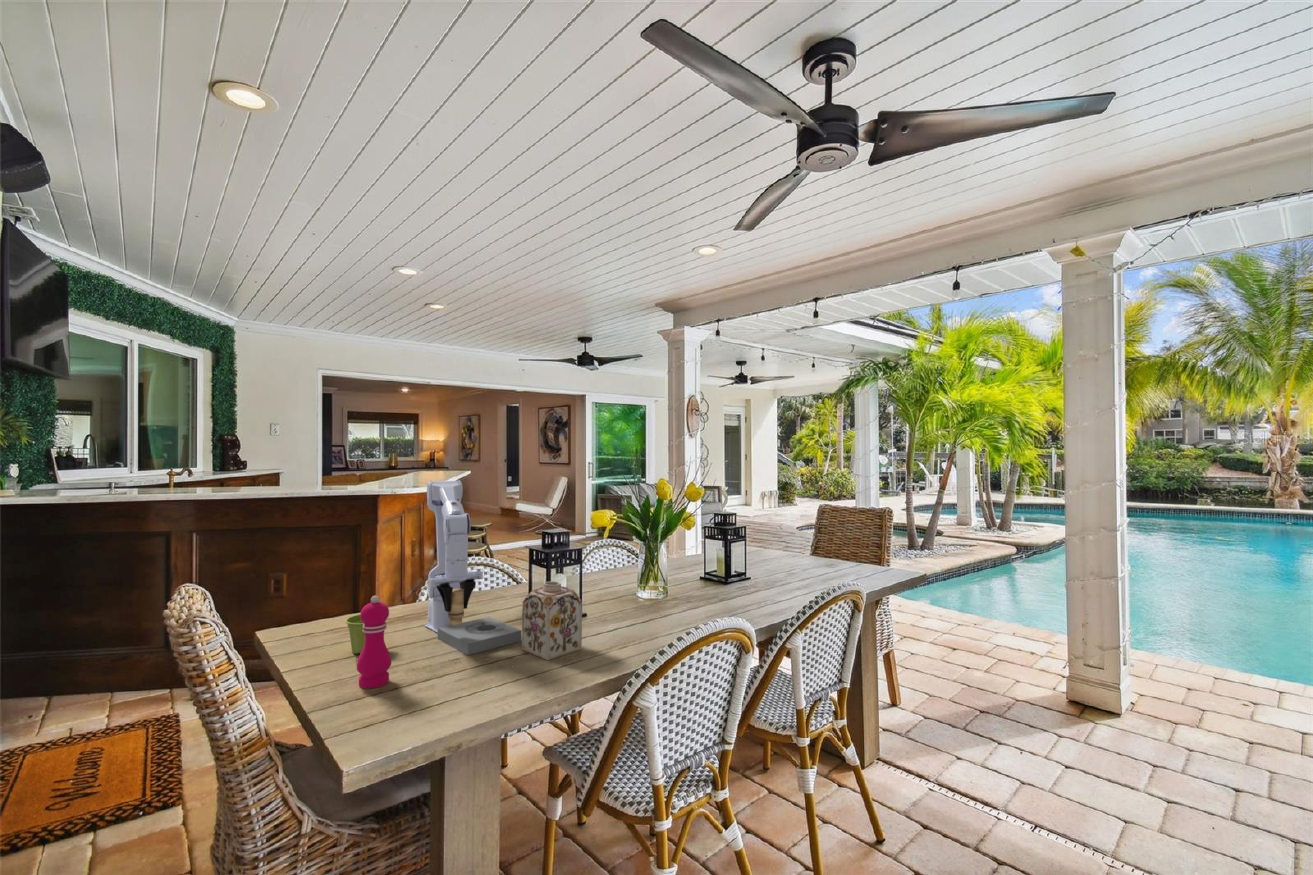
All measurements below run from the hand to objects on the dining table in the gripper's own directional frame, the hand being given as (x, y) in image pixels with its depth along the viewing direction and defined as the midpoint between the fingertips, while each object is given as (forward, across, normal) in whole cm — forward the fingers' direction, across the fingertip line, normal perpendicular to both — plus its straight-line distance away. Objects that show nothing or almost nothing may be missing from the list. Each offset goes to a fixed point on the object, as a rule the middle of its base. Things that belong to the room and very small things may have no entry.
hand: (455, 609), depth 159 cm
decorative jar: (+10, +18, -19) cm, 28 cm away
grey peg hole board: (+10, +8, +2) cm, 13 cm away
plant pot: (+11, -18, +14) cm, 26 cm away
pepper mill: (+10, -24, -10) cm, 28 cm away
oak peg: (+4, 0, 0) cm, 4 cm away
